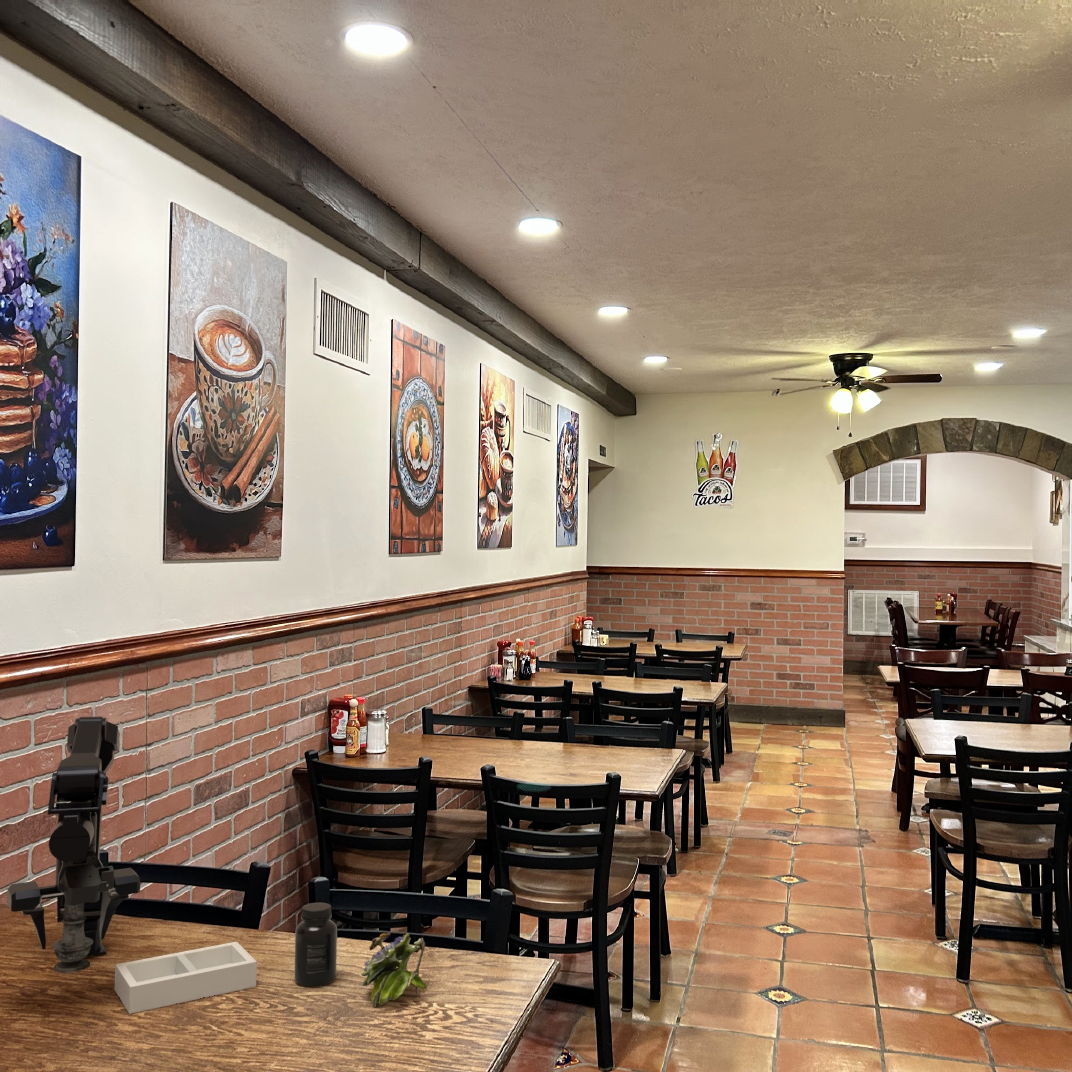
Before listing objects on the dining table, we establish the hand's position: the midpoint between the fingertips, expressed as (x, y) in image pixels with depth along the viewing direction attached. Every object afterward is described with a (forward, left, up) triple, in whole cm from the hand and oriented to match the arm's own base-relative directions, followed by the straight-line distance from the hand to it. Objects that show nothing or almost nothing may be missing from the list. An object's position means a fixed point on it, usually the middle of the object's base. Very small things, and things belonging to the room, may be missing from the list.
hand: (73, 943), depth 161 cm
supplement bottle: (+14, +35, -8) cm, 39 cm away
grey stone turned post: (0, 0, -4) cm, 4 cm away
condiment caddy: (+6, +16, -8) cm, 19 cm away
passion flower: (+26, +44, -8) cm, 52 cm away
